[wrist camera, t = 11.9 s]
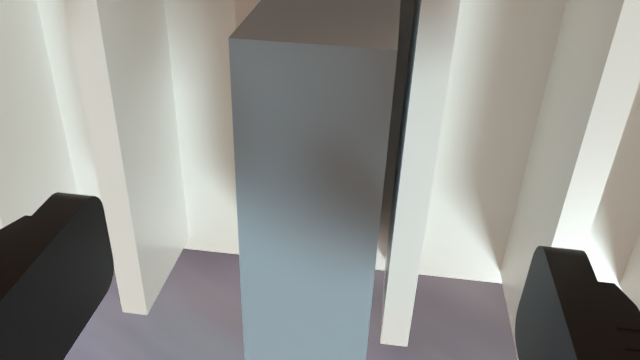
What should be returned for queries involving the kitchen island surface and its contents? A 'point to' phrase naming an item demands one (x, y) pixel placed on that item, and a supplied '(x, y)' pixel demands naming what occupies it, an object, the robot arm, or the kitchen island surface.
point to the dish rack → (403, 144)
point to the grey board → (310, 170)
